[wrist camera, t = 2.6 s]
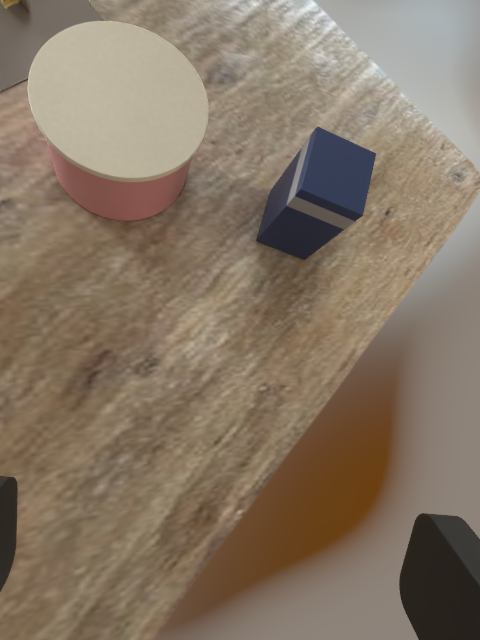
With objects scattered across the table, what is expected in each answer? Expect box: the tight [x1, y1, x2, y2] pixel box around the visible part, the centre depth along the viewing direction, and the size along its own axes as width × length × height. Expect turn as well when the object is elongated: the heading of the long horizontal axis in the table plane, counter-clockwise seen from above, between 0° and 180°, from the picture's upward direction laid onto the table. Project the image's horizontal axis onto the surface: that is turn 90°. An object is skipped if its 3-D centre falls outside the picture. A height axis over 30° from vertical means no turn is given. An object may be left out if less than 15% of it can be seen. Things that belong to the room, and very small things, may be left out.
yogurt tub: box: [28, 21, 209, 221], centre depth 33 cm, size 12×12×8 cm
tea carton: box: [256, 127, 376, 260], centre depth 35 cm, size 5×5×10 cm
